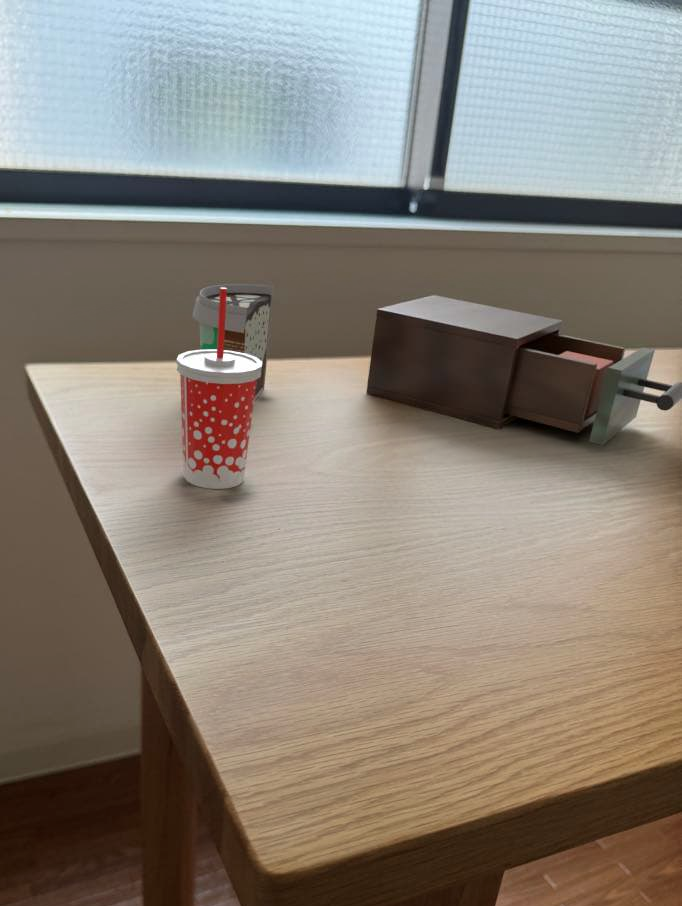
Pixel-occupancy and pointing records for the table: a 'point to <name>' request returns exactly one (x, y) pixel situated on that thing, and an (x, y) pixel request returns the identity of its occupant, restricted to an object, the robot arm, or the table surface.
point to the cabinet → (451, 356)
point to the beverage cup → (216, 411)
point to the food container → (238, 321)
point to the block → (598, 378)
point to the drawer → (582, 385)
